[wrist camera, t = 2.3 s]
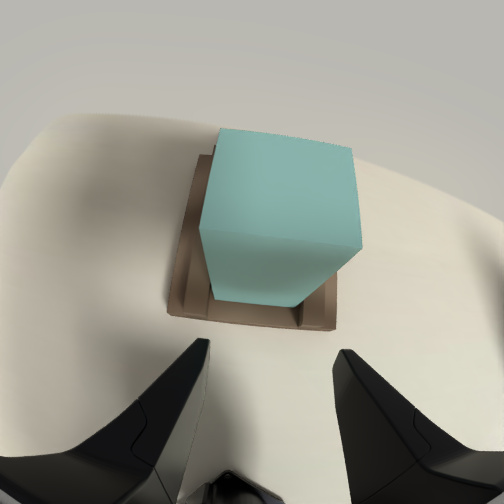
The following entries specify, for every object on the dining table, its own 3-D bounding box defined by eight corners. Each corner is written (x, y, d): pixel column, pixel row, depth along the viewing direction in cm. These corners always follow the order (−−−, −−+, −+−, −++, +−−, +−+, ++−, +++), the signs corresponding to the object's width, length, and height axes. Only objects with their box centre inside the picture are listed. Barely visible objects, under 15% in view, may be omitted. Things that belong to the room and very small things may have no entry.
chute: (329, 331, 22) (354, 323, 18) (170, 315, 22) (155, 303, 17) (328, 180, 28) (343, 148, 23) (200, 163, 27) (197, 129, 23)
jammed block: (294, 307, 21) (362, 248, 10) (214, 299, 21) (199, 228, 10) (296, 246, 23) (351, 148, 12) (222, 238, 23) (220, 128, 12)
